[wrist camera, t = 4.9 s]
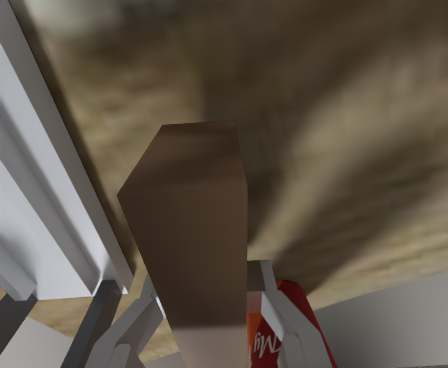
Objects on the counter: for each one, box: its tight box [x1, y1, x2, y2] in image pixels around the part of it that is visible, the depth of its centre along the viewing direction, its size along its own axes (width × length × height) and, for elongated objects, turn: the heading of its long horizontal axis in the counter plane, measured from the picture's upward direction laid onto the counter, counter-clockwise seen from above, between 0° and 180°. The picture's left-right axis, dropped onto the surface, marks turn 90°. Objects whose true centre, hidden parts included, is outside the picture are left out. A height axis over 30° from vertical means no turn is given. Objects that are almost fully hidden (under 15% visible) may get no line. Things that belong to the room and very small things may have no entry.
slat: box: [117, 121, 248, 368], centre depth 11 cm, size 3×14×5 cm, turn 3°
